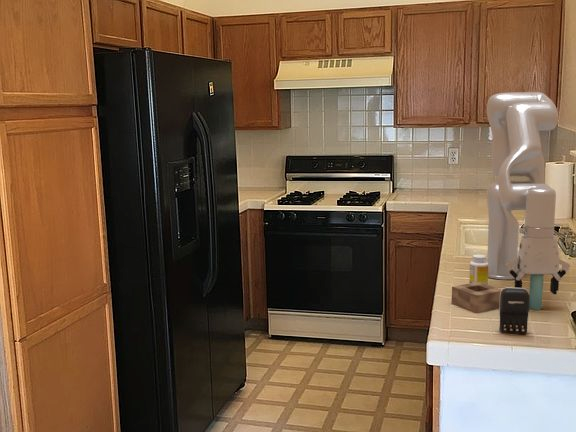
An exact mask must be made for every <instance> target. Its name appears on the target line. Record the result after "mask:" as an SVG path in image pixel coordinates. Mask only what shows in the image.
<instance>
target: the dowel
mask: <svg viewBox="0 0 576 432" xmlns="http://www.w3.org/2000/svg"><path fill="white" fill-rule="evenodd" d="M529 275H530V276H529V291H528V292H529V295H530V309H529V310H533V311H541V310H542V309H543V306H542V305H543V294H544V293H543V292H544V275H545V274H529Z"/></svg>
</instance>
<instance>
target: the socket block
mask: <svg viewBox="0 0 576 432" xmlns="http://www.w3.org/2000/svg"><path fill="white" fill-rule="evenodd" d="M502 289H503V288H498V287H495V286H492V285H489V284H488V285H486V284H483V283H480V282H475V283H465V284H460V285H453V286H451V304H452V305H454V306H458V307H459V308H462V309H465V310H467V311H469V312H473V313H475V314H479V313H483V312H488V311H492V310H497V309H498V310H499V302H500V292H501V290H502Z"/></svg>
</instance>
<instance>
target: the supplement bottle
mask: <svg viewBox="0 0 576 432" xmlns="http://www.w3.org/2000/svg"><path fill="white" fill-rule="evenodd" d="M468 279H469V283H475V282H480V283H483V284H486V285H489V277H488V262H487V255H485V254H474V255H472V260H471V261H470V262H469V278H468ZM469 283H468V284H469Z"/></svg>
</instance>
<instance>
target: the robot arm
mask: <svg viewBox="0 0 576 432" xmlns="http://www.w3.org/2000/svg"><path fill="white" fill-rule="evenodd" d="M486 115H487V121H488V123H489V126H490V130H491V138H492V139H491V140H492V141H491V169H492V172H493V174H495V176H497V181H494V182H492V183H490V184H489V185H488V187H487V189H486V202H487V209H488V210H487V211H488V227H487V228H488V231H487V232H488V234H487V235H488V236H487V255H486V262H488V279H494V280H502V281H503V280H505V281H506V280H514V287H515V288H523V280H522V279H523V277H524V276H525V275H530V274H544V275H550V276H552V277H551V278H550V286H549V287H550V289H549V291H550V293H551V294H553V295H557V292H558V291H559V284H560V283H559V282H560V281H561V279H562V278H563V277H564V276H565V275H566V274H567V272H568V271H569V269H570V267H571V264H570V263H568V262H566V261H564V260H563V259H560V255H559V243H558V238H557V237H555V218H556V216H555V215H556V201H557V192H556V190H555V189H554V188H552V187H550V186H549V185H548V184H545V158H544V155H543V152H542V144H541V143H542V142H541V138H540V137H541V136H540V131H543V132H544V131H552V130H554V129H555V128H556V127H557V126H558V123H559V112H558V109H557V107H556V104H555V103H554V102H553V100H552V99H551V98H549V96H548V95H547V94H546V93H543V92H539V91H525V92H523V91H518V92H517V91H514V92H511V91H510V92H509V91H508V92H499V93H494V94H493V95H491V96H490V97H489V98H488V100H487V103H486ZM511 177H515V178H516V177H518V178H519V177H525V178H526V180H511V179H510V178H511ZM512 211H525V213H524V214H525V215H524V216H525V217H524V226H523V227H521V228H520V224H519V221H518V219H517V218H516V216H515V215H514V214H513V213H512ZM519 234H522V235H523V236H521V239H520V242H519ZM560 266H561V269H560Z"/></svg>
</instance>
